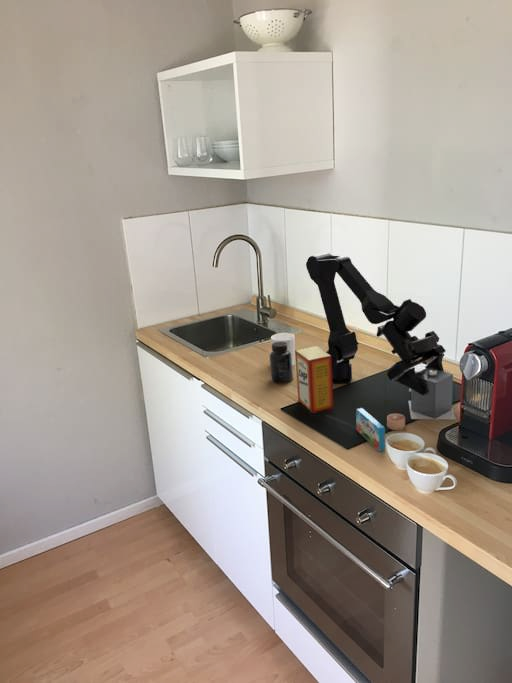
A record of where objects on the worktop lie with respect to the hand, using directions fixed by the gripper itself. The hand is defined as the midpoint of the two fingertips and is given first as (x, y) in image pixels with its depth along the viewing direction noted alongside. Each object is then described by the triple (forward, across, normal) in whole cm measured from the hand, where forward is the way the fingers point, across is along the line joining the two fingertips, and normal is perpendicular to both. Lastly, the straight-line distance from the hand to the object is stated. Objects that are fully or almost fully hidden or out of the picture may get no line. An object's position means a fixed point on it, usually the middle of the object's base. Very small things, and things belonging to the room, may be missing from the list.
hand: (435, 389), depth 149 cm
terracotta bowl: (+3, -13, +6) cm, 15 cm away
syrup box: (-8, +14, +14) cm, 21 cm away
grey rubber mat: (+4, 0, +6) cm, 7 cm away
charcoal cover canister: (+4, 0, +5) cm, 6 cm away
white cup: (-36, -2, +46) cm, 58 cm away
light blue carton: (+3, -22, +7) cm, 24 cm away
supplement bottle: (-29, -12, +39) cm, 50 cm away
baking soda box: (-14, -17, +24) cm, 33 cm away
